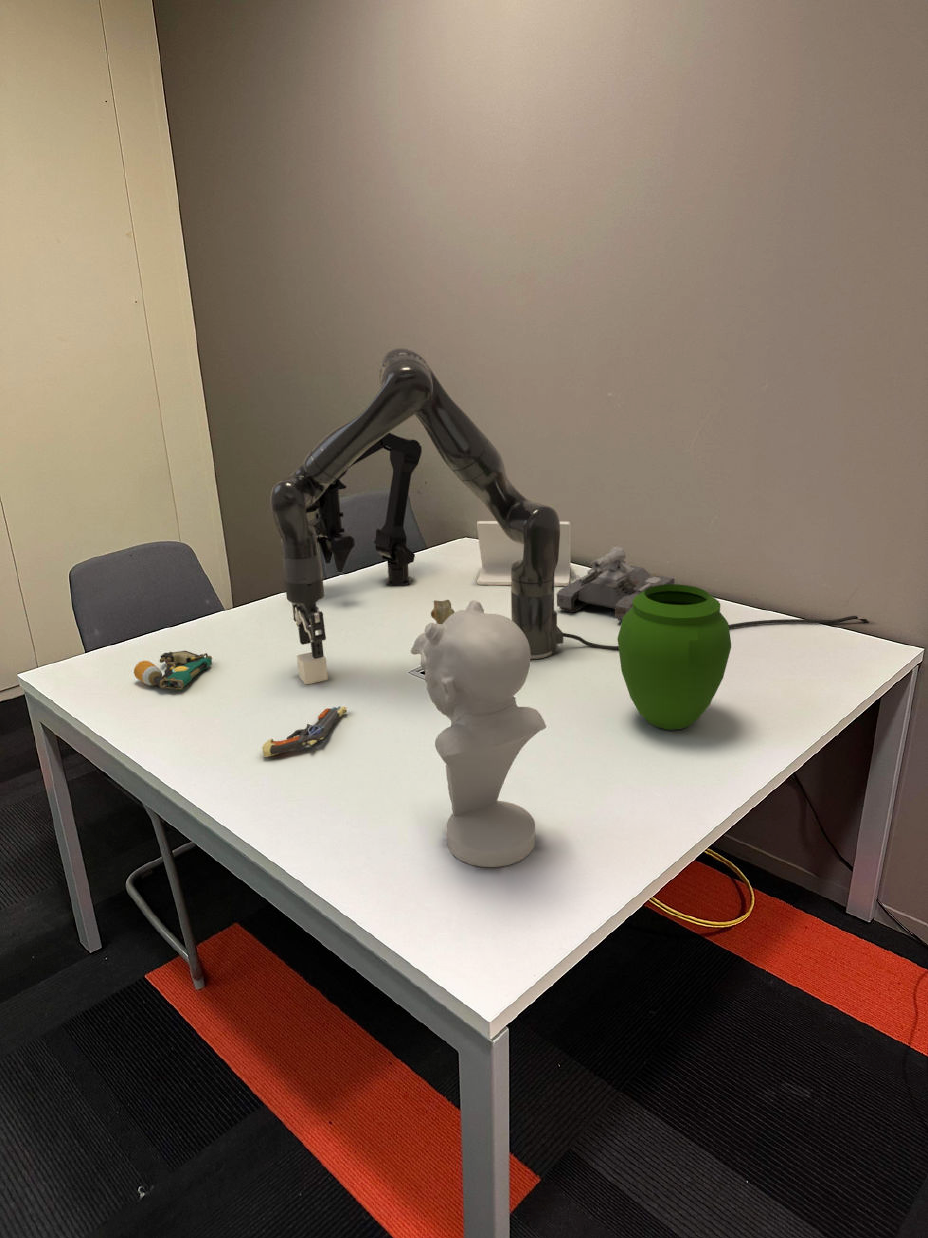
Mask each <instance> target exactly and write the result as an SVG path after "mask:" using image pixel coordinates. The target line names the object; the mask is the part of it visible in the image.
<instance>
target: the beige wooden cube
mask: <svg viewBox="0 0 928 1238" xmlns="http://www.w3.org/2000/svg"><path fill="white" fill-rule="evenodd" d="M296 662H297V671H298V677H299V678H300V680H301V681H302V682H303V684H304V685H306V686H307V685H312V684H315V683H320V682H324V681H328V680H329V677H328V676H329V675H328V665H327V658H326V656H325V655H324V656H323V657H322V658H317V659H314V658H313V657H312V651H311V652H307V653H301V654H297V655H296Z"/></svg>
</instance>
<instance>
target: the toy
mask: <svg viewBox="0 0 928 1238" xmlns="http://www.w3.org/2000/svg"><path fill="white" fill-rule="evenodd" d="M626 557H627V556H626V551H625V549H624V548H622V547H621V546H614V547H612V548H611V549H610V550H609V552H608V553H607V554H605V555H604V556H601V557H599V558H598V559H597V557H596V558H594V559H593V560H592V561H590V562H589V563H590V564H591V565H592V567H591V568H590V569H589V570H587V573H586V575H584V576H582V577H580V578H578V579H577V580H575V581H573V582H570V583H569V585H567V586H563V587H562V588H560V589H559V590H558V591H557V592H556V607H558V608H559V609H560V610H562V611H566V612H572V613H575V612H577V611H579V610H581V609H582V608H585V607H586V606H588V605H592V606H598V607H602V608H603V607H604V608H609V609H613V610H614V618H615V619H617V620H618V621H621V622H622V620H623V616H624V615H625V614H626V613H627V612H628V611H629V610H630V609H631V608H632V607H633V599H634V597H635V596H637V595H639V594H640V593H642V592H644V591H645V590H646V589H648V588H650V587H653V586H658V585H667V584H675V580H676V579H675V578H673V577H668V576H663V575H656V576H655V577H654V576H651V574H650V573H649V572H648V571H647V570H646V568H644V567H641V566H635V565H629V564H628V563H627V562H626V561H625V559H626Z"/></svg>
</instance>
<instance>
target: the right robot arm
mask: <svg viewBox="0 0 928 1238" xmlns="http://www.w3.org/2000/svg"><path fill="white" fill-rule="evenodd" d="M378 378H379V385H380V388H379V391H378V392H377V394H376V395H375V397H374V398H373V399H372V400H371V402H370V403H369V404H368V405H367V406H366V407H365V409H364V410H362V411H361V412H360V413H359V414H357V415H356V416H355V417H354V418H352V419H350V420H348V421H347V422H345V423H342V424H340V425H339V426H337V427H336V428H334V429H332V430H331V431H330V432H328V433H327V434H326V435H325V436H324V437H323V438H322V439H321V440H320V441H319V442H318V443H317V444H316V445H315V446H314V447H313V448H312V449H311V450H310V451H309V453H308V454H307V455H306V456H305V458H304V460H303V463H301V465H300V466H299V467H298V468H297V469H296V470H295V471H294V472H292V473H291V474H290V475H289V476H287V477H286V478H284V479H281V480H280V481H278V482H277V483H275V485H274V486H273V487H272V488H271V492H270V496H269V499H270V500H269V501H270V503H269V504H270V510H271V514H272V516H273V519H274V522H275V525H276V528H277V530H278V532H279V535H280V544H281V552H282V571H283V580H284V587H285V596H286V600H287V601H288V602H289V603H291V607H292V616H293V618H292V619H293V621H294V622H295V625H296V628H297V630H298V636H299V637H298V638H299V643H300V645H303V646H305V645H308V644H310V649H311V652H312V657H313V658H314V659H317V658H322V657H323V656H324V657H325V655H324V654H325V653H324V646H323V645H324V644H323V641H326V640H327V636H326V629H325V621H324V613H323V610H322V611H321V610H320V608H319V606H317V602H318V601H321V600H322V599H324V597H325V589H324V579H323V569H322V568H323V567H322V562H321V557H320V553H319V543H318V542H317V534H316V531H315V528H314V527H313V526H312V525H311V524H308V521H309V520H308V516H307V513H306V509H307V508H309V507H310V506H311V505H312V504H314V503H315V502H316V501H317V500H318V498H319V497H320V496H321V495H322V494H323V493H324V492H325V490H326V489H327V488H328V487H329V485H330V484H331V483H333V482H334V481H335V480H336V479H337V478H338V477H339V476H340V475H341V474H342V473H343V472H344V471H345V470H346V469H348V468H349V467H350V466H351V465H352V464H353V463H354V462H355V461H356V460H357V459H358V458H359V457H360V456H361V455H362V454H363V453H364V452H365V451H366V450H368V449H369V448H370V447H371V446H372V445H374V444H375V443H376V442H377V441H379V440H380V439H381V438H383V437H384V436H385V435H387V434H388V433H389V432H390V433H392V431H393V430H395V429H397V428H398V427H399V426H401V425H402V424H403V423H406V421H408V420H410V419H411V418H412V417H413V416H415V417H416V418H417V419H418V420H419V422H420V423H421V425H422V426H423V428H424V429H425V431H426V432H427V435H428V437H429V438H430V440H431V442H432V443H433V445H434V447H435V449H436V450H437V452H438V454H439V456H440V457H441V458H442V460H443V461H444V463H445V464H446V466H447V467H448V468H449V469H450V470H451V471H452V472H453V473H454V475H455V476H456V477H457V479H459V480H460V481H461V482H462V483H463V484H464V485H465V486H466V487H467V488H468V489H469V490H470V491H471V493H472V494H473V495H474V496H475V497H476V498H477V499H478V500H479V501H480V502H481V503H482V504H483V505H484V506H485V507H486V509H487V510H488V511H489V512H490V514H491V515H492V517H493V518H494V519H495V521H497V522H498V524H499V525H500V527H501V528H502V530H503V531H504V532H505V534H506V535H507V536H508V537H509V538H510V539H511V540H513V541H514V542H516V543H519V544H522V545H524V551H523V559H522V560H519V561H516V562H514V563H513V564H512V567H511V585H510V588H511V589H510V597H511V599H510V603H511V604H510V606H511V607H510V609H511V610H510V615H511V617H510V619H511V620H512V621H513V622H514V623H515V624H516V625H517V626H518V627H519V628H520V629H521V630H522V632H523V633H524V634H525V636H526V638H527V640H528V643H529V646H530V652H531V653H530V655H531V656H530V660H540V659H545V658H548V657H550V656H552V655H557V654H558V653H557V650H558V649H557V648H558V647H557V645H562V644H564V638H568V639H573V640H576V641H579V642H580V643H582V644H583V645H585V646H588V647H591V648H594V649H595V648H596V649H601V650H609V651H619V647H618V645H604V644H597V643H594V642H591V641H587V640H586V639H584V638H583V637H581V636H579V635H576V634H572V633H567V632H563V631H562V630H561V628H560V627H558V613H557V612H556V611H555V586H554V572H555V568H556V566H557V563H558V557H559V542H560V522H561V521H560V517H559V514H558V512H557V511H556V509H554V508H553V507H551V506H549V505H545V504H542V503H539V502H536V501H532V500H529V499H528V498H526V497H525V496H523V494H522V493H521V492H519V490H517V488H516V487H515V486H514V485H513V484H512V483H511V481H510V480H509V478H508V476H507V473H506V467H505V463H504V460H503V458H502V456H501V454H500V452H499V451H498V449H497V448H496V447H495V445H494V444H493V443H492V442H491V441H490V440H489V439H488V437H487V436H486V434H485V433H484V432H483V431H482V430H481V429H480V428H479V427H478V426H477V425H476V423H475V422H474V421H473V420H472V419H471V418H470V416H469V415H468V414H466V412H465V411H463V409H462V408H461V407H460V406H459V405H458V404H457V403H456V402H455V400H453V399H452V397H451V396H450V395H449V393H448V392H447V391H446V390H445V388H444V387H443V385H442V383H441V382H440V381H439V379H438V378H437V377H436V375H435V373H434V371H433V370H432V368H431V366H430V365H429V364H428V362H427V360H426V359H425V358H424V357H423V356H422V355H421V354H420V353H418V352H417V351H414V350H413V349H410V348H405V347H397V348H394V349H391V350H389V351H388V352H386V353H385V355H384V356H383V358H382V359H381V362H380V365H379V371H378ZM351 467H352V466H351ZM351 467H350V468H351ZM350 468H349V469H350ZM349 469H348V470H349ZM857 616H858V615H850V616H845V617H840V618H837V619H811V618H810V619H809V618H807V619H806V618H805V619H804V618H799V619H798V618H791V619H790V618H789V619H787V618H785V619H781V618H780V619H762V620H752V621H743V622H739V623H732V624H729V629H734V628H740V627H747V626H757V625H769V624H771V625H772V624H839V623H843V622H847V621H852V620H859V621H862V622H863V623H864V624H870V622H869V620H868V619H867V618H865V619H858V617H857ZM316 631H317V634H316Z"/></svg>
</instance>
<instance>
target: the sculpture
mask: <svg viewBox="0 0 928 1238" xmlns="http://www.w3.org/2000/svg"><path fill="white" fill-rule="evenodd" d="M455 612H456V611H455V609H453V608H452V602H451V601H450V599H445V600H433V610H431V612H430V617H431V618H432V619H433V620H434V621H435V622H436V623H435V624H443V623H444V622H445V620H446V619H447V618H448V617H450V616H451V615H452V614H453V613H455Z"/></svg>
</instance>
